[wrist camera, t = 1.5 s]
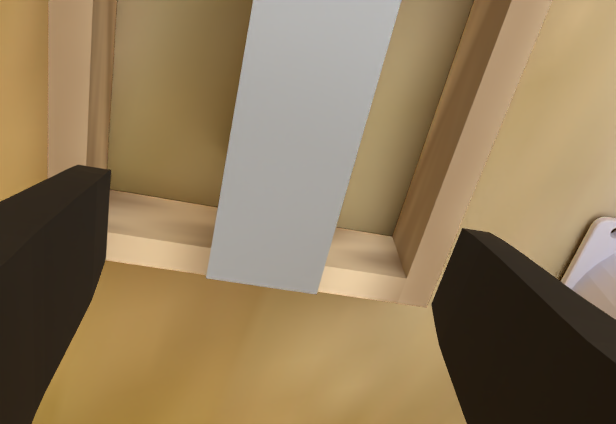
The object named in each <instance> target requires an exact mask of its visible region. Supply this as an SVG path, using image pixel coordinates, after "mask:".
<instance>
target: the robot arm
mask: <svg viewBox="0 0 616 424" xmlns="http://www.w3.org/2000/svg"><path fill="white" fill-rule="evenodd" d="M110 178H111V170H108V169H102V168H96V167H90V166H84V165H76V166H73V167H71V168H68V169H66V170H64V171H62V172H60V173H58V174H56V175H54V176H52V177H50V178H48V179H46V180H44V181H42V182H40V183H38V184H36V185H34V186H32V187H30V188H28V189H26V190H24V191H22V192H20V193H18V194H16V195H14V196H11V197H9V198H7V199H5V200H3V201H1V202H0V424H32V421H33V419H34V416H35V413H36V411H37V409H38V407H39V405H40V402H41V400H42V398H43V396H44V394H45V391H46V389H47V388H48V386H49V384H50V382H51V380H52V378H53V376H54V374H55V372H56V370H57V368H58V366H59V364H60V362H61V360H62V358H63V356H64V354H65V352H66V350H67V348H68V346H69V344H70V342H71V340H72V338H73V337H74V335H75V333H76V331H77V329H78V327H79V325H80V323H81V321H82V319H83V317H84V315H85V313H86V311H87V309H88V307H89V305H90V302H91V300H92V298H93V295H94V292H95V289H96V287H97V284H98V281H99V278H100V275H101V272H102V269H103V266H104V263H105V260H106V250H107V232H108V214H109V196H110ZM615 228H616V218H611V217H600V218H598V219H596V220H595V221H594V222H593V223H592V224H591V226H590V228H589V230H588V231H587V233H586V235H585V237H584V239H583V241H582V243H581V244H580V246H579V248H578V250H577V252H576V254H575V256H574V257H573V259H572V261H571V263H570V265H569V267H568V269H567V270H566V272H565V274H564V276H563V278H562V280H561V282H560V281H559V280H558V279H556V278H555V277H554V276H552V275H551V274H550V273H548V272H547V271H545V270H544V269H543V268H541V267H540V266H539V265H537V264H536V263H535V262H533V261H532V260H530V259H529V258H528V257H526V256H525V255H524V254H522V253H521V252H519V251H518V250H517V249H515V248H514V247H512V246H511V245H509V244H508V243H506V242H505V241H503V240H502V239H500V238H498V237H497V236H495V235H493V234H491V233H489V232H483V231H476V230H470V229H464V228H462V230H461V233H460V235H459V238H458V240H457V243H456V245H455V248H454V250H453V253H452V255H451V257H450V260H449V262H448V265H447V267H446V270H445V272H444V275H443V277H442V280H441V282H440V285H439V287H438V290H437V292H436V294H435V297H434V299H433V302H432V310H433V316H434V322H435V327H436V332H437V337H438V342H439V346H440V349H441V352H442V355H443V358H444V361H445V364H446V366H447V369H448V372H449V375H450V378H451V381H452V383H453V386H454V389H455V392H456V395H457V397H458V400H459V403H460V406H461V408H462V411H463V414H464V417H465V419H466V422H467V424H616V231H615V232H613V233H611V231H612V230H613V229H615Z"/></svg>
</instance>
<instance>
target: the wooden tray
mask: <svg viewBox="0 0 616 424" xmlns="http://www.w3.org/2000/svg"><path fill="white" fill-rule="evenodd" d="M552 1H553V0H474V3H473V5H472V8H471V11H470V14H469V17H468V20H467V23H466V26H465V28H464V31H463V34H462V37H461V40H460V43H459V46H458V49H457V51H456V54H455V57H454V60H453V63H452V66H451V69H450V72H449V74H448V77H447V80H446V83H445V86H444V89H443V92H442V95H441V98H440V100H439V103H438V106H437V109H436V112H435V115H434V118H433V121H432V123H431V126H430V129H429V132H428V135H427V138H426V141H425V144H424V146H423V149H422V152H421V155H420V158H419V161H418V164H417V167H416V170H415V172H414V175H413V178H412V181H411V184H410V187H409V190H408V193H407V195H406V198H405V201H404V204H403V207H402V210H401V213H400V216H399V218H398V221H397V224H396V227H395V230H394V233H393V236H392V237H391V236H385V235H379V234H373V233H367V232H361V231H355V230H349V229H343V228H337V227H336V229H335V232H334V236H333V239H332V243H331V246H330V250H329V253H328V256H327V260H326V263H325V267H324V270H323V274H322V277H321V281H320V284H319V288H318V291H317V292H324V293H330V294H337V295H344V296H351V297H357V298H364V299H371V300H378V301H384V302H391V303H398V304H405V305H411V306H418V307H425V308H427V305H428V303H429V301H430V298H431V296H432V293H433V291H434V288H435V286H436V283H437V281H438V279H439V276H440V274H441V271H442V269H443V266H444V264H445V262H446V259H447V257H448V254H449V252H450V249H451V247H452V244H453V242H454V240H455V237H456V235H457V232H458V230H459V227H460V225H461V223H462V220H463V218H464V215H465V213H466V210H467V208H468V205H469V203H470V201H471V198H472V196H473V193H474V191H475V188H476V186H477V184H478V181H479V179H480V176H481V174H482V171H483V169H484V166H485V164H486V162H487V159H488V157H489V154H490V152H491V149H492V147H493V145H494V142H495V140H496V137H497V135H498V132H499V130H500V127H501V125H502V123H503V120H504V118H505V115H506V113H507V110H508V108H509V106H510V103H511V101H512V98H513V96H514V93H515V91H516V88H517V86H518V84H519V81H520V79H521V76H522V74H523V71H524V69H525V67H526V64H527V62H528V59H529V57H530V54H531V52H532V49H533V47H534V45H535V42H536V40H537V37H538V35H539V32H540V30H541V28H542V25H543V23H544V20H545V18H546V15H547V13H548V10H549V8H550V6H551V3H552ZM116 10H117V0H49V2H48V178H50V177H52V176H54V175H56V174H58V173H60V172H62V171H64V170H66V169H68V168H71V167H73V166H76V165H84V166H90V167H96V168H102V169H107V159H108V142H109V126H110V109H111V92H112V76H113V59H114V43H115V26H116ZM217 210H218V207H212V206H206V205H200V204H194V203H188V202H182V201H176V200H170V199H164V198H158V197H152V196H146V195H140V194H134V193H128V192H122V191H116V190H110V196H109V214H108V232H107V250H106V260H107V261H114V262H121V263H128V264H134V265H141V266H148V267H155V268H161V269H168V270H175V271H182V272H188V273H195V274H202V275H207V269H208V263H209V257H210V251H211V246H212V240H213V234H214V228H215V222H216V216H217Z"/></svg>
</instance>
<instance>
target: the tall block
mask: <svg viewBox="0 0 616 424" xmlns="http://www.w3.org/2000/svg"><path fill="white" fill-rule="evenodd" d="M400 4H401V0H253V3H252V9H251V15H250V21H249V27H248V33H247V39H246V45H245V50H244V56H243V62H242V68H241V74H240V80H239V86H238V92H237V98H236V104H235V109H234V115H233V121H232V127H231V133H230V139H229V145H228V151H227V157H226V163H225V168H224V174H223V180H222V186H221V192H220V198H219V204H218V210H217V216H216V222H215V228H214V234H213V240H212V246H211V251H210V257H209V263H208V269H207V275H206V278H207V279H214V280H221V281H228V282H235V283H242V284H248V285H255V286H262V287H269V288H276V289H283V290H289V291H296V292H303V293H310V294H317V291H318V288H319V284H320V281H321V277H322V274H323V270H324V267H325V263H326V260H327V256H328V253H329V250H330V246H331V243H332V239H333V236H334V232H335V229H336V225H337V222H338V218H339V215H340V211H341V208H342V204H343V201H344V198H345V194H346V191H347V187H348V184H349V180H350V177H351V173H352V170H353V166H354V163H355V159H356V156H357V153H358V149H359V146H360V142H361V139H362V135H363V132H364V128H365V125H366V121H367V118H368V114H369V111H370V107H371V104H372V101H373V97H374V94H375V90H376V87H377V83H378V80H379V76H380V73H381V69H382V66H383V62H384V59H385V56H386V52H387V49H388V45H389V42H390V38H391V35H392V31H393V28H394V24H395V21H396V17H397V14H398V10H399V7H400Z"/></svg>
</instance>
